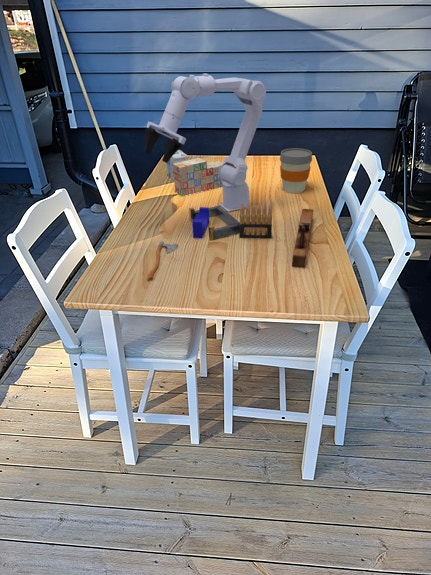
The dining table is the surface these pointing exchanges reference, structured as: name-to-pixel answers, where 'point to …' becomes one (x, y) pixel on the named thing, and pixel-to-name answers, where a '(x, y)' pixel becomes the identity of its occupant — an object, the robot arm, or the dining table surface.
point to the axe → (168, 249)
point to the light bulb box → (176, 158)
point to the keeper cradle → (222, 214)
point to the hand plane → (302, 239)
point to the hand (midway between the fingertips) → (155, 157)
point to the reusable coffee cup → (295, 169)
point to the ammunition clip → (256, 222)
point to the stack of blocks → (196, 176)
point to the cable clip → (201, 222)
